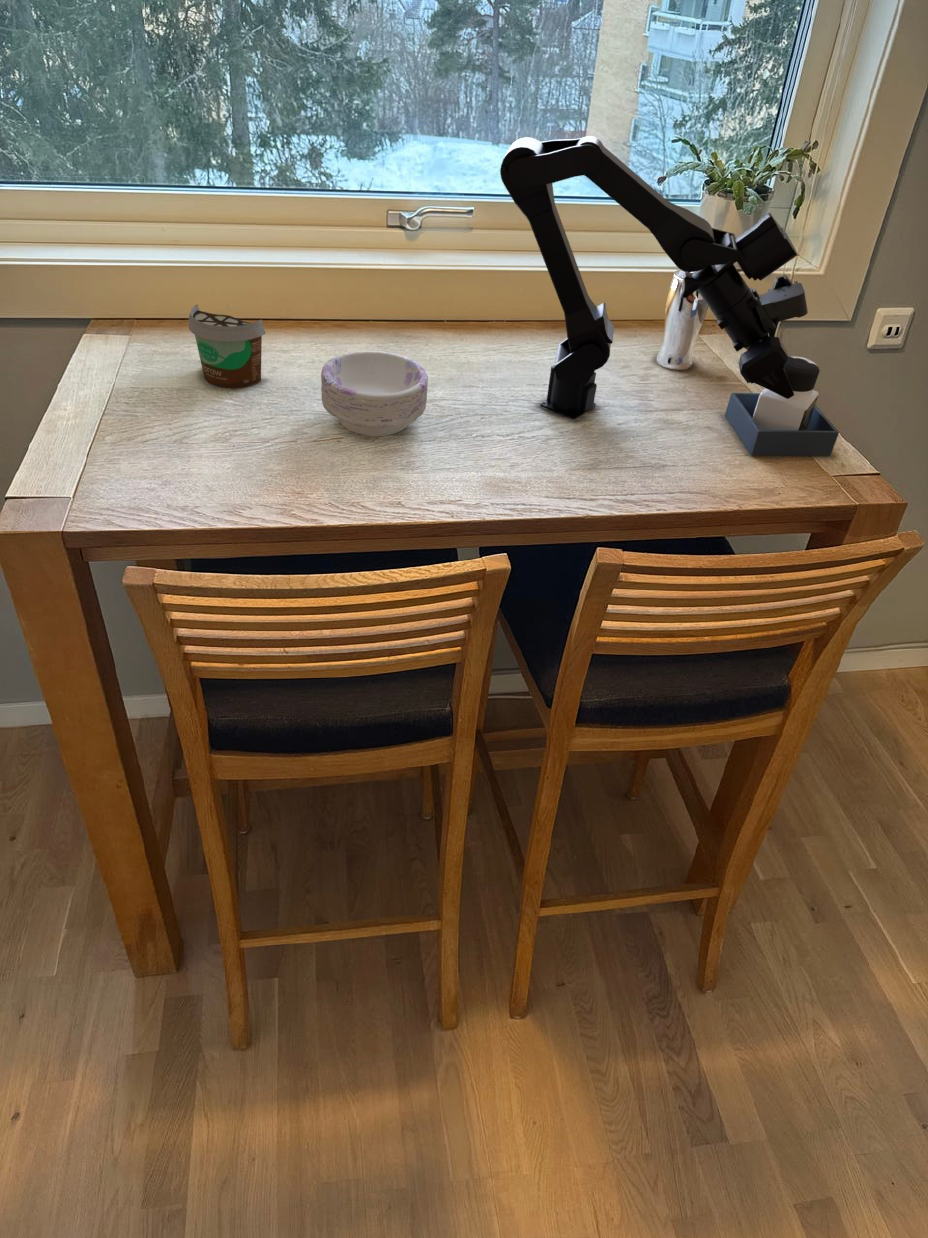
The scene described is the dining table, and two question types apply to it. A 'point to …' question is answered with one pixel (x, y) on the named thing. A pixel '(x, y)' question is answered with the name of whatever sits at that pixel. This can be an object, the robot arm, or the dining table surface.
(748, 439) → the caddy
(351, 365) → the paper bowls
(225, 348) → the food container
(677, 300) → the silver tumbler
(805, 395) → the medicine bottle
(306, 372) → the dining table surface
